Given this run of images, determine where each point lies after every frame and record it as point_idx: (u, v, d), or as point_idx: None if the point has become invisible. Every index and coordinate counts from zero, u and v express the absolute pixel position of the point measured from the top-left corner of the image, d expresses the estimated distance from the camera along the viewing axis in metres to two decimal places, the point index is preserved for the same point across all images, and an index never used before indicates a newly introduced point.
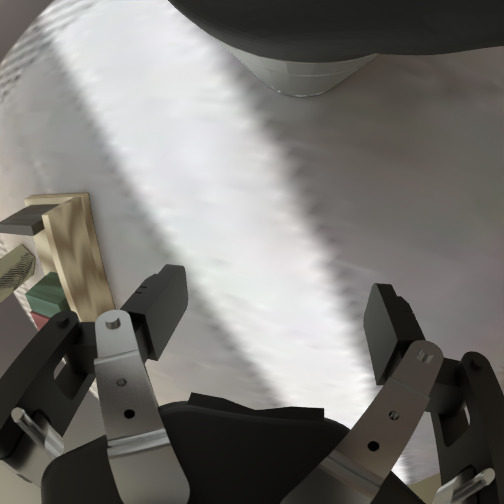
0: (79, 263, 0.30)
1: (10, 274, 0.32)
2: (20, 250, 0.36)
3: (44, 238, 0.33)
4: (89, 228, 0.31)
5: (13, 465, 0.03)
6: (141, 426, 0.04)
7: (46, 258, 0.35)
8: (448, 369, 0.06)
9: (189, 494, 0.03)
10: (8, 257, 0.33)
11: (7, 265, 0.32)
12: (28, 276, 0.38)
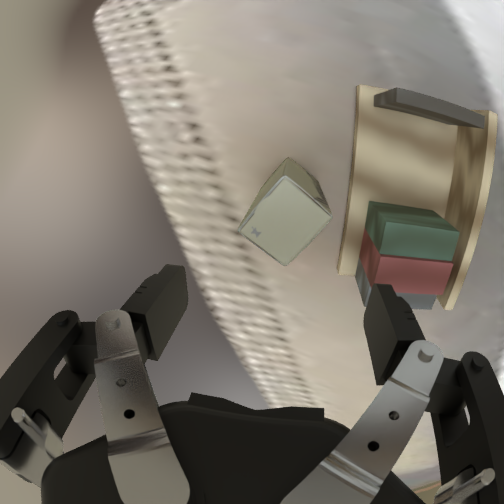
0: None
1: (321, 192, 0.23)
2: (297, 164, 0.27)
3: (384, 147, 0.25)
4: None
5: (13, 465, 0.03)
6: (141, 426, 0.04)
7: (373, 179, 0.26)
8: (448, 369, 0.06)
9: (189, 494, 0.03)
10: (295, 166, 0.24)
11: (306, 177, 0.24)
12: None
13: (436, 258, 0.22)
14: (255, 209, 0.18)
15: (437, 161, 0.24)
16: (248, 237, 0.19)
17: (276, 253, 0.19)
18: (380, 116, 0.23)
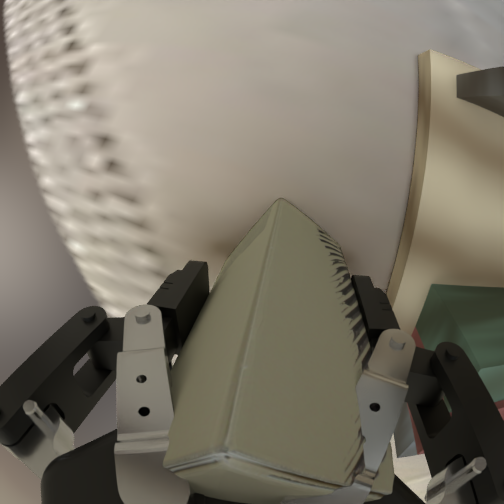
0: None
1: (358, 311, 0.09)
2: (299, 217, 0.13)
3: (471, 183, 0.11)
4: None
5: (18, 454, 0.04)
6: (154, 426, 0.04)
7: (445, 245, 0.12)
8: (422, 359, 0.07)
9: (188, 499, 0.03)
10: (296, 236, 0.10)
11: (321, 270, 0.09)
12: None
13: None
14: None
15: None
16: None
17: None
18: (468, 119, 0.09)
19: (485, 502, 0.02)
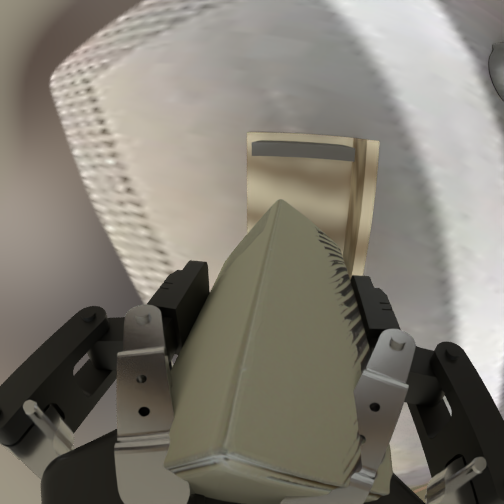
0: None
1: (357, 312, 0.09)
2: (299, 218, 0.13)
3: (273, 186, 0.32)
4: None
5: (18, 454, 0.04)
6: (154, 425, 0.04)
7: None
8: (422, 359, 0.07)
9: (188, 499, 0.03)
10: (295, 237, 0.10)
11: (320, 271, 0.09)
12: None
13: None
14: None
15: (330, 192, 0.31)
16: None
17: None
18: (267, 159, 0.30)
19: (485, 502, 0.02)
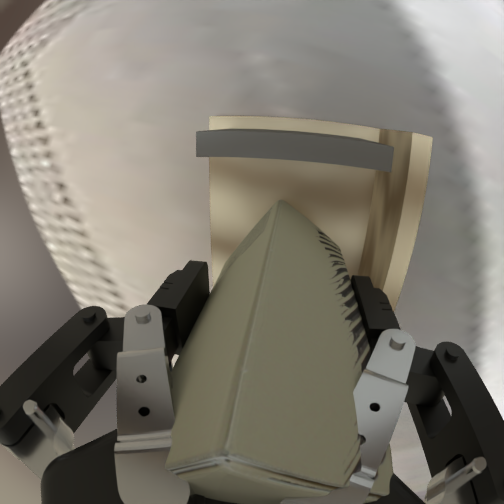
0: None
1: (357, 313, 0.09)
2: (299, 218, 0.13)
3: (250, 202, 0.20)
4: None
5: (18, 454, 0.04)
6: (154, 426, 0.04)
7: (237, 244, 0.22)
8: (422, 358, 0.07)
9: (188, 499, 0.03)
10: (295, 238, 0.10)
11: (321, 272, 0.09)
12: None
13: None
14: None
15: (339, 213, 0.20)
16: None
17: None
18: (241, 158, 0.19)
19: (485, 502, 0.02)
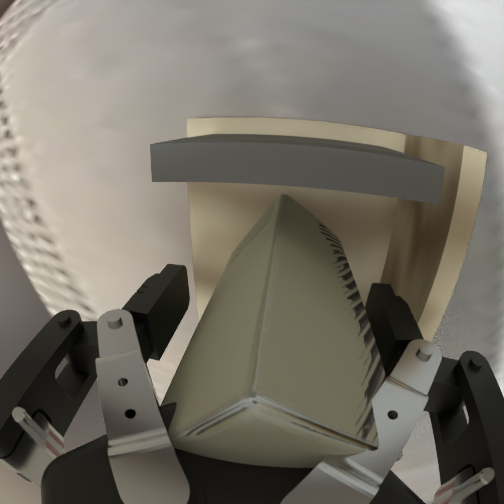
0: None
1: (358, 295, 0.10)
2: (301, 211, 0.14)
3: (240, 227, 0.16)
4: None
5: (13, 464, 0.03)
6: (142, 427, 0.04)
7: None
8: (446, 368, 0.07)
9: (189, 494, 0.03)
10: (299, 228, 0.11)
11: (323, 258, 0.10)
12: None
13: None
14: None
15: (352, 242, 0.15)
16: None
17: None
18: None
19: None
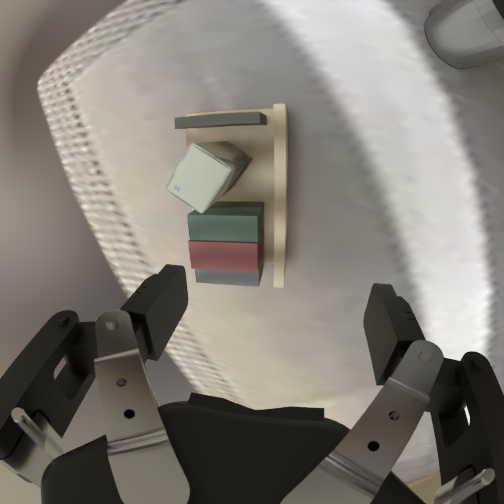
0: None
1: (242, 160, 0.28)
2: (231, 145, 0.33)
3: None
4: (287, 143, 0.33)
5: (13, 465, 0.03)
6: (141, 427, 0.04)
7: None
8: (448, 369, 0.06)
9: (189, 494, 0.03)
10: (224, 144, 0.30)
11: (230, 150, 0.29)
12: (233, 185, 0.34)
13: (241, 240, 0.32)
14: (175, 171, 0.23)
15: (259, 159, 0.34)
16: (172, 193, 0.24)
17: (193, 202, 0.24)
18: (203, 134, 0.34)
19: None
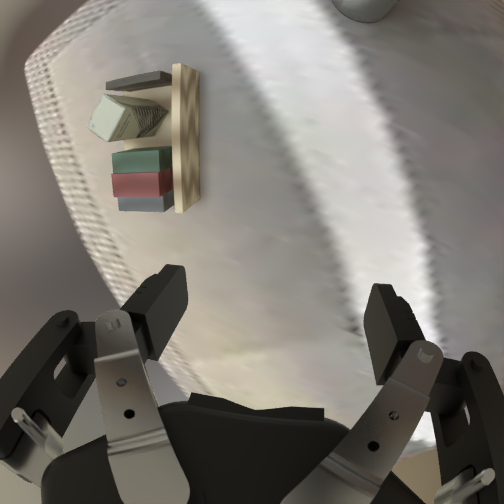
0: (188, 116, 0.36)
1: (148, 108, 0.33)
2: (151, 101, 0.37)
3: None
4: (196, 97, 0.37)
5: (13, 465, 0.03)
6: (141, 426, 0.04)
7: None
8: (448, 369, 0.06)
9: (189, 494, 0.03)
10: (141, 99, 0.34)
11: (142, 102, 0.33)
12: (152, 132, 0.38)
13: (148, 171, 0.36)
14: None
15: None
16: (90, 129, 0.28)
17: (102, 135, 0.28)
18: (134, 96, 0.38)
19: None
